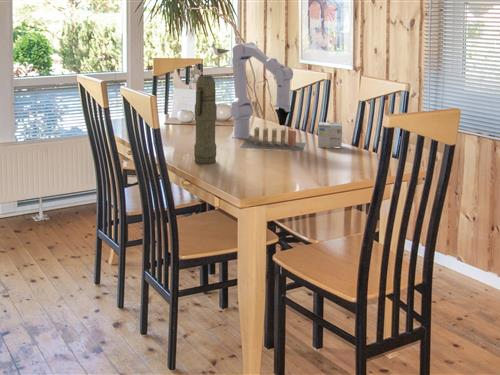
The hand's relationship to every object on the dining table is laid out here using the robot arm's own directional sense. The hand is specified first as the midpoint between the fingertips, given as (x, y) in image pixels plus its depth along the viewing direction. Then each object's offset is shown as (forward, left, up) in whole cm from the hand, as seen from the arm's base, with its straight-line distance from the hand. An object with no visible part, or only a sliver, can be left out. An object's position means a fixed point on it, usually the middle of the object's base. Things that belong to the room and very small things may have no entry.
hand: (282, 125), depth 350 cm
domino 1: (0, -11, -9) cm, 14 cm away
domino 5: (0, +5, -9) cm, 10 cm away
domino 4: (0, +1, -9) cm, 9 cm away
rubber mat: (+2, -3, -9) cm, 10 cm away
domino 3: (0, -3, -9) cm, 10 cm away
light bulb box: (-2, +22, -10) cm, 24 cm away
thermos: (+39, -27, -10) cm, 49 cm away
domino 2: (0, -7, -9) cm, 12 cm away
